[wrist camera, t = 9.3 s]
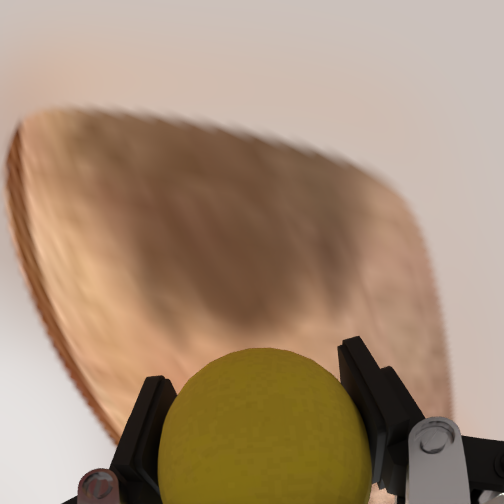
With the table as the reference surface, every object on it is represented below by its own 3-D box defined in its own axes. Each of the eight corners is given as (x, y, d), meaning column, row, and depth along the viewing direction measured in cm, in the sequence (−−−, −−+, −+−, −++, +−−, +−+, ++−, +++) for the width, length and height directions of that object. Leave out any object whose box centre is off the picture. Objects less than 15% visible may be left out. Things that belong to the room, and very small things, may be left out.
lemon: (221, 276, 10) (177, 531, 2) (359, 339, 11) (462, 523, 3) (163, 390, 11) (112, 571, 3) (283, 433, 12) (305, 596, 4)
